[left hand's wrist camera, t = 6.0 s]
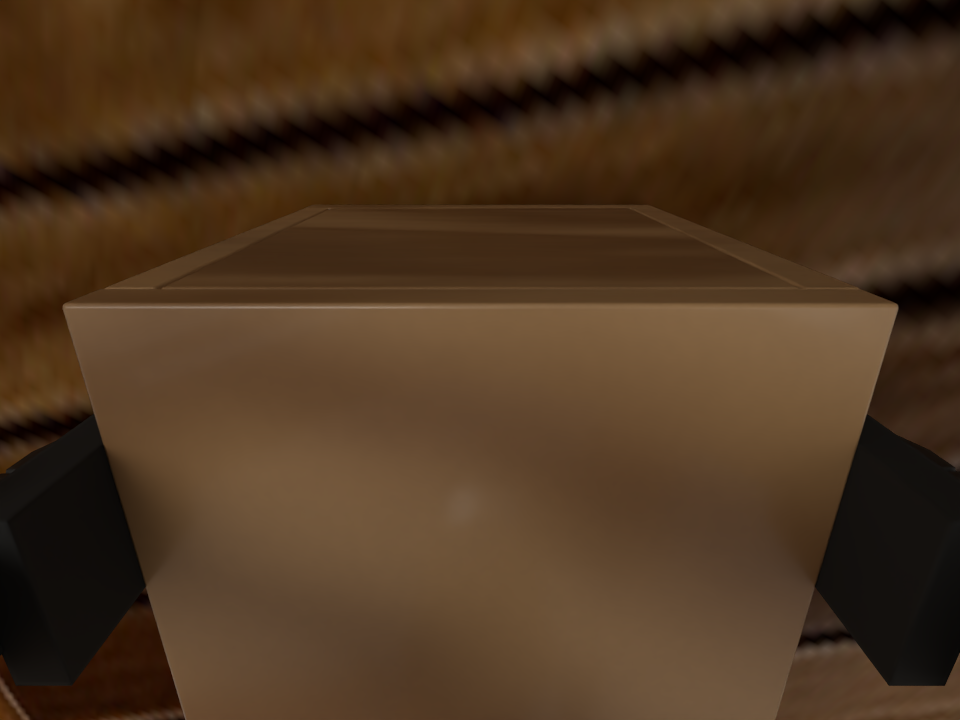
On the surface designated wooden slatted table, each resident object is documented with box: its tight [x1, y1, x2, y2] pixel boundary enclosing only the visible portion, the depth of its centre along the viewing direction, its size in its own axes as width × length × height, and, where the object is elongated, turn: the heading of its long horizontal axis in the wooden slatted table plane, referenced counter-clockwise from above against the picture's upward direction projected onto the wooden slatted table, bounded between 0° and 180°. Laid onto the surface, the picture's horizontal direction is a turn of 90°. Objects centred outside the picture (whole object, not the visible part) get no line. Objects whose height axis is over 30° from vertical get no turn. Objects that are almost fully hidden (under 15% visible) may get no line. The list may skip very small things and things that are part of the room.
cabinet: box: [63, 205, 898, 720], centre depth 16 cm, size 18×11×12 cm, turn 0°
